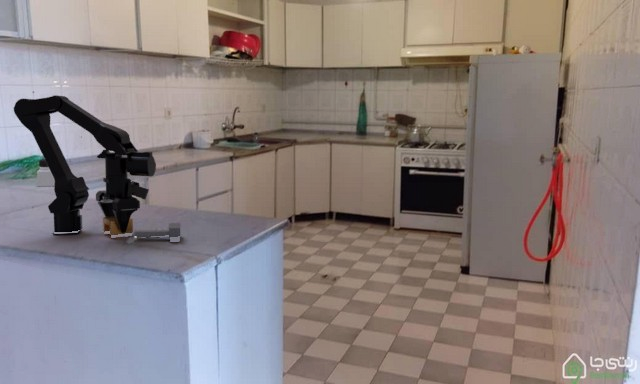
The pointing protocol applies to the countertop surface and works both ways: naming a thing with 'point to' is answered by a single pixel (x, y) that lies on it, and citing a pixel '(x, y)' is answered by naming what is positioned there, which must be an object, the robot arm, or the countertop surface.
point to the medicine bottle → (44, 175)
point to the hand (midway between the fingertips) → (117, 229)
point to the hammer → (160, 231)
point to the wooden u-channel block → (115, 226)
